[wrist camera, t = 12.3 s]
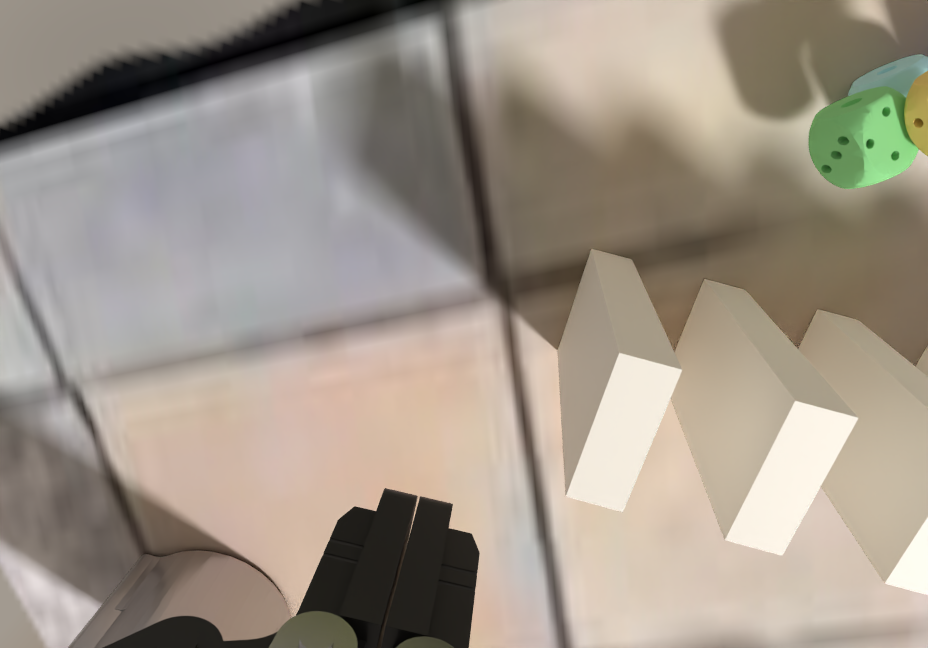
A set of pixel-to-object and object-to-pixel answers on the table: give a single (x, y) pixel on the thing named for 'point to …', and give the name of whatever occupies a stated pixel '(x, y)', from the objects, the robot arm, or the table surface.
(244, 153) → the table surface
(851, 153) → the dice
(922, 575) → the domino
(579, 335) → the domino
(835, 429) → the domino
